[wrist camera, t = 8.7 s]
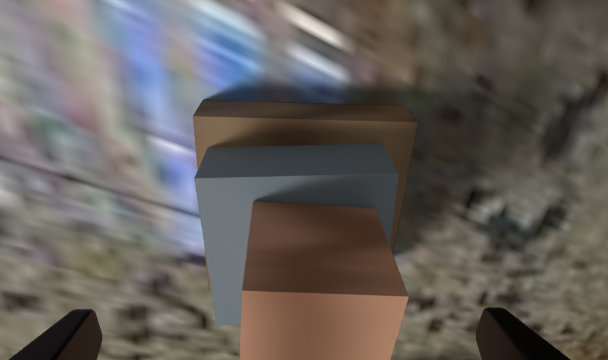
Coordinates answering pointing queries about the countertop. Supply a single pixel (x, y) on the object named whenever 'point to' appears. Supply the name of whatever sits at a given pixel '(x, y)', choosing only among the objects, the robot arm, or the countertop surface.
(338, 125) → the walnut base slab
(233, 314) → the slate top slab
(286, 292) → the terracotta block
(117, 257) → the countertop surface
